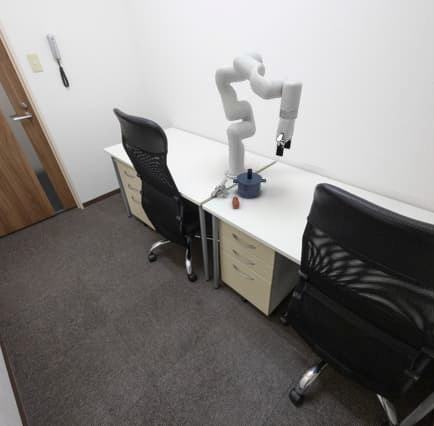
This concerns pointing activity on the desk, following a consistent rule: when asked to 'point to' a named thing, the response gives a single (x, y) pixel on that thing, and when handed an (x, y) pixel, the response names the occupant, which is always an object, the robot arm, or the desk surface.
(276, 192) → the desk surface
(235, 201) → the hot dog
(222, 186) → the tablet stand
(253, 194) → the pot
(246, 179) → the lid
